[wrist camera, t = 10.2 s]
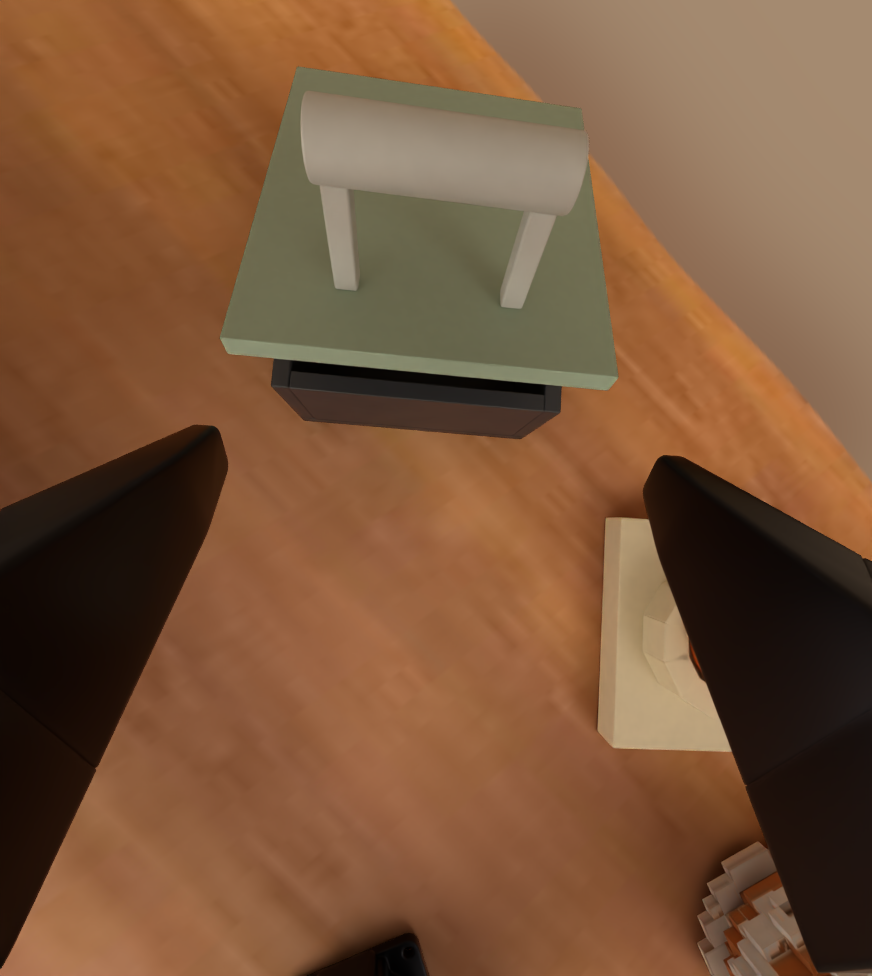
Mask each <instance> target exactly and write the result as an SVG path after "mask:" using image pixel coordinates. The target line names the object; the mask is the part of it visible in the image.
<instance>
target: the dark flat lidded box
mask: <svg viewBox="0 0 872 976" xmlns="http://www.w3.org/2000/svg"><path fill="white" fill-rule="evenodd" d="M271 386H272V388H273V389H274V390H275V391H276V392H277V393H278V394H279V395H280V396H281V397H282V398H283V399H284V400H285V401H286V402H287V403H288V404H289V405H290V406H291V407H292V408H293V409H294V410H295V411H296V412H297V414H298V415H299V416H300V417H301V418H302V419H303V420H305V421H316V422H328V423H339V424H351V425H362V426H374V427H386V428H397V429H409V430H420V431H432V432H444V433H455V434H467V435H478V436H490V437H501V438H513V439H522V438H523V437H525V436H526V435H528V434H529V433H531V432H532V431H534V430H535V429H537V428H538V427H540V426H541V425H543V424H544V423H546V422H547V421H549V420H550V419H552V418H553V417H555V416H556V415H558V414H559V413H560V410H561V389H562V386H555V385H545V384H534V383H524V382H514V381H503V380H493V379H483V378H472V377H462V376H452V375H441V374H431V373H420V372H410V371H400V370H389V369H379V368H369V367H358V366H348V365H338V364H327V363H317V362H307V361H296V360H286V359H276V358H274V361H273V371H272V381H271Z"/></svg>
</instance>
